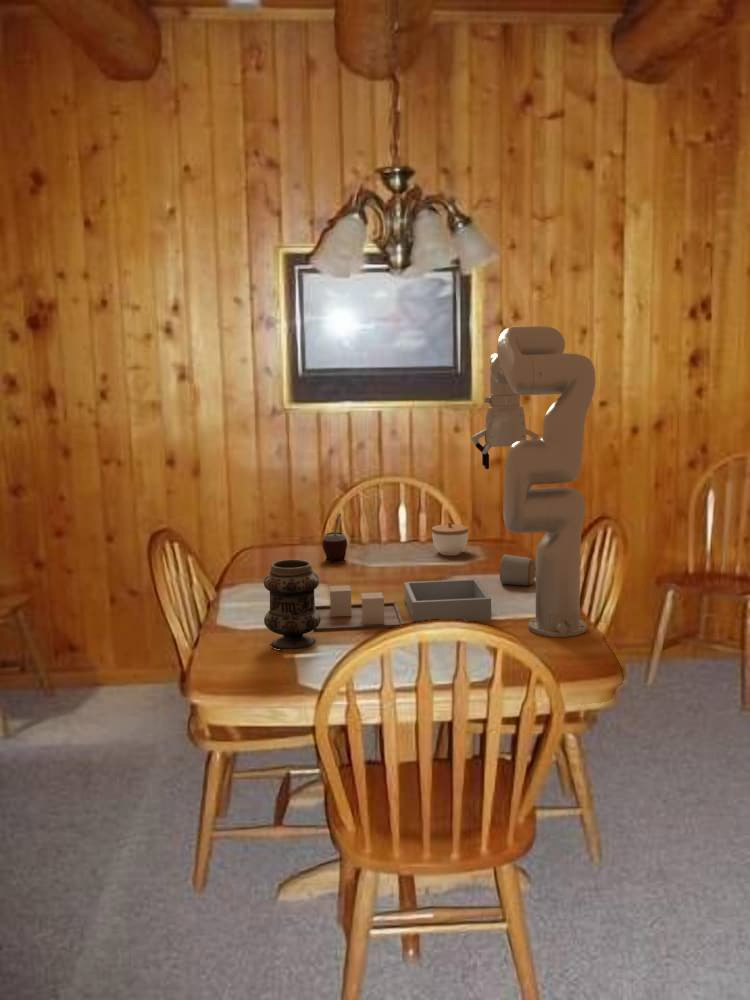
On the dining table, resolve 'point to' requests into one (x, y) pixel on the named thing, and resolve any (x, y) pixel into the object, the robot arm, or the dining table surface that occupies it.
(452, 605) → the tub
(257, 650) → the dining table surface
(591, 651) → the dining table surface
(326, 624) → the walnut tray
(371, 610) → the beige block
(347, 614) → the stone
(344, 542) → the mate gourd
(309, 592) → the apothecary jar
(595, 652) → the dining table surface
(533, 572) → the ceramic mug
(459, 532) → the lidded jar
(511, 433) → the robot arm
